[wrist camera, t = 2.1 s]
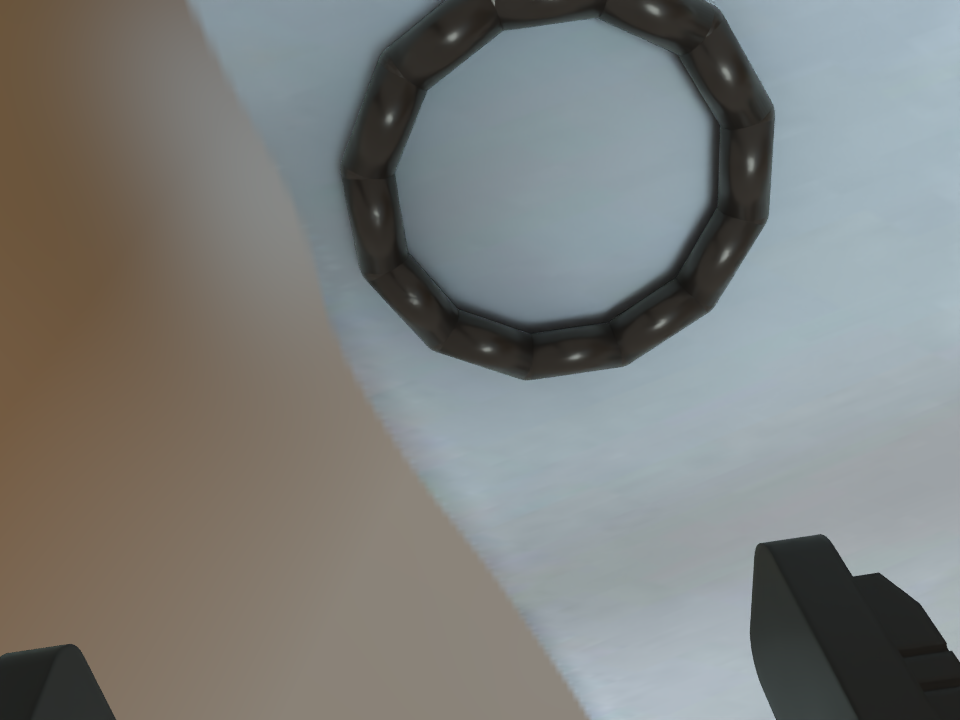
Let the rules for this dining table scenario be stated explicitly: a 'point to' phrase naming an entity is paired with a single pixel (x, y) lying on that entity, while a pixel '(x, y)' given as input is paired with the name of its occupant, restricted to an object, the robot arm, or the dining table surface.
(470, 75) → the dining table surface
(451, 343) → the ring
